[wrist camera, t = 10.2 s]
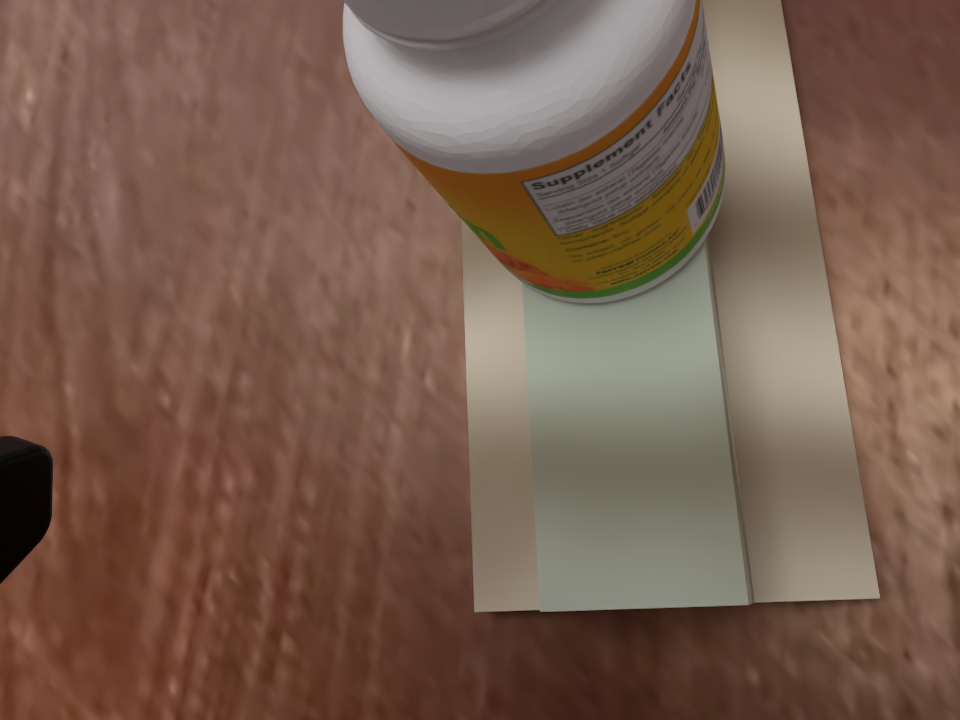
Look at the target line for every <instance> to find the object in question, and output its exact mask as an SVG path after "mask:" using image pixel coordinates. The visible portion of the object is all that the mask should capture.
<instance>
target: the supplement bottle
mask: <svg viewBox="0 0 960 720" xmlns="http://www.w3.org/2000/svg"><path fill="white" fill-rule="evenodd" d="M343 1H344V11H343V42H344V48H345V53H346V59H347V64H348V68H349V71H350V74H351V77H352V80H353V82H354V85H355V87H356V89H357V91H358V93H359V95H360V97H361V99H362V101H363V102H364V104H365V105H366V107H367V109H368V110H369V111H370V113H371V114H372V115H373V117H374V118H375V119H376V121H377V122H378V123H379V124H380V126H381V127H382V129H383V130H384V131H385V132H386V133H387V134H388V136H389V137H390V138H391V139H392V140H393V141H394V143H395V144H396V145H397V146H398V147H399V148H400V149H401V151H402V152H403V153H404V154H405V155H406V156H407V157H408V159H409V160H410V161H411V162H412V163H413V164H414V165H415V167H416V168H417V169H418V170H419V171H420V172H421V174H422V175H423V176H424V177H425V178H426V179H427V180H428V182H429V183H430V184H431V185H432V186H433V187H434V188H435V189H436V191H437V192H438V193H439V194H440V195H441V196H442V197H443V198H444V200H445V201H446V202H447V203H448V204H449V205H450V207H451V208H452V209H453V210H454V211H455V212H456V213H457V215H458V216H459V217H460V218H461V219H462V220H463V221H464V222H465V223H466V225H467V226H468V227H469V228H470V229H471V230H472V231H473V233H474V234H475V235H476V236H477V237H478V238H479V239H480V241H481V242H482V243H483V244H484V245H485V246H486V247H487V248H488V249H489V251H490V252H491V253H492V254H493V255H494V256H495V257H496V259H497V260H498V261H499V262H500V263H501V264H502V265H503V266H504V267H505V268H506V269H507V270H508V271H509V272H510V273H511V274H512V275H513V276H515V277H516V278H517V279H518V280H520V281H521V282H522V283H524V284H525V285H527V286H528V287H530V288H532V289H533V290H535V291H537V292H540V293H542V294H544V295H547V296H549V297H552V298H555V299H559V300H563V301H568V302H575V303H603V302H609V301H615V300H619V299H623V298H626V297H630V296H632V295H635V294H638V293H641V292H643V291H645V290H647V289H650V288H652V287H654V286H655V285H657V284H659V283H661V282H662V281H664V280H666V279H667V278H668V277H670V276H671V275H673V274H674V273H675V272H676V271H677V270H679V269H680V268H681V267H682V266H683V265H684V264H685V263H686V262H687V261H688V260H689V259H690V258H691V257H692V256H693V255H694V254H695V252H696V251H697V250H698V249H699V247H700V246H701V244H702V243H703V241H704V240H705V238H706V237H707V235H708V233H709V232H710V230H711V228H712V226H713V224H714V222H715V220H716V217H717V215H718V212H719V209H720V206H721V203H722V199H723V194H724V186H725V154H724V144H723V137H722V128H721V122H720V116H719V110H718V104H717V97H716V91H715V83H714V77H713V71H712V64H711V57H710V50H709V44H708V37H707V31H706V24H705V17H704V10H703V2H702V0H343Z"/></svg>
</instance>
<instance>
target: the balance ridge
mask: <svg viewBox="0 0 960 720" xmlns="http://www.w3.org/2000/svg"><path fill="white" fill-rule="evenodd" d="M702 2H703V10H704V17H705V24H706V31H707V37H708V44H709V50H710V57H711V64H712V71H713V77H714V83H715V91H716V97H717V104H718V110H719V116H720V122H721V128H722V137H723V144H724V154H725V186H724V194H723V199H722V203H721V206H720V209H719V212H718V215H717V217H716V220H715V222H714V224H713V226H712V228H711V230H710V232H709V233H708V235H707V237H706V238H705V240H704V241H703V243H702V244H701V246H700V247H699V249H698V250H697V251H696V252H695V254H694V255H693V256H692V257H691V258H690V259H689V260H688V261H687V262H686V263H685V264H684V265H683V266H682V267H681V268H680V269H679V270H677V271H676V272H675V273H674V274H673V275H671V276H670V277H668V278H667V279H666V280H664V281H662V282H661V283H659V284H657V285H655V286H654V287H652V288H650V289H647V290H645V291H643V292H641V293H638V294H635V295H632V296H630V297H626V298H623V299H619V300H615V301H609V302H603V303H575V302H568V301H563V300H559V299H555V298H552V297H549V296H547V295H544V294H542V293H540V292H537V291H535V290H533V289H532V288H530V287H528V286H527V285H525V284H524V283H522V282H521V281H520V280H518V279H517V278H516V277H515V276H513V275H512V274H511V273H510V272H509V271H508V270H507V269H506V268H505V267H504V266H503V265H502V264H501V263H500V262H499V261H498V260H497V259H496V257H495V256H494V255H493V254H492V253H491V252H490V251H489V249H488V248H487V247H486V246H485V245H484V244H483V243H482V242H481V241H480V239H479V238H478V237H477V236H476V235H475V234H474V233H473V231H472V230H471V229H470V228H469V227H468V226H467V225H466V223H465V222H464V221H463V220H462V219H461V226H462V256H463V286H464V316H465V346H466V376H467V406H468V435H469V465H470V495H471V525H472V555H473V585H474V612H493V611H523V610H540V612H553V611H583V610H613V609H644V608H674V607H704V606H734V605H750V604H752V603H758V602H788V601H817V600H846V599H876V598H880V594H879V588H878V582H877V576H876V570H875V564H874V558H873V552H872V546H871V540H870V534H869V528H868V522H867V516H866V510H865V504H864V498H863V492H862V486H861V480H860V474H859V468H858V462H857V456H856V450H855V444H854V438H853V432H852V426H851V420H850V414H849V408H848V402H847V396H846V390H845V384H844V378H843V372H842V366H841V360H840V354H839V348H838V342H837V336H836V330H835V324H834V317H833V311H832V305H831V299H830V293H829V287H828V281H827V275H826V269H825V263H824V257H823V251H822V245H821V239H820V233H819V227H818V221H817V215H816V209H815V203H814V197H813V191H812V185H811V179H810V173H809V167H808V161H807V155H806V149H805V143H804V137H803V131H802V125H801V119H800V113H799V107H798V101H797V95H796V89H795V83H794V77H793V71H792V65H791V59H790V53H789V47H788V41H787V35H786V29H785V23H784V17H783V11H782V5H781V0H702Z"/></svg>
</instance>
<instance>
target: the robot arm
mask: <svg viewBox="0 0 960 720" xmlns="http://www.w3.org/2000/svg"><path fill="white" fill-rule="evenodd" d="M52 483H53V459H52V456H51V454H50V452H49V451H48V450H47V449H46V448H45V447H43V446H41V445H38V444H35V443H32V442H30V441H27V440H24V439H21V438H18V437H14V436H2V437H0V584H1V583H2V582H3V581H4V580H5V579H6V577H7V576H8V575H9V574H10V573H11V572H12V571H13V570H14V569H15V568H16V567H17V566H18V565H19V564H20V563H21V561H22V560H23V559H24V558H25V557H26V556H27V555H28V554H29V553H30V552H31V551H32V550H33V549H34V548H35V547H36V545H37V544H38V543H39V542H40V541H41V540H42V538H43V537H44V535H45V534H46V532H47V530H48V527H49V525H50V521H51V517H52Z"/></svg>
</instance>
